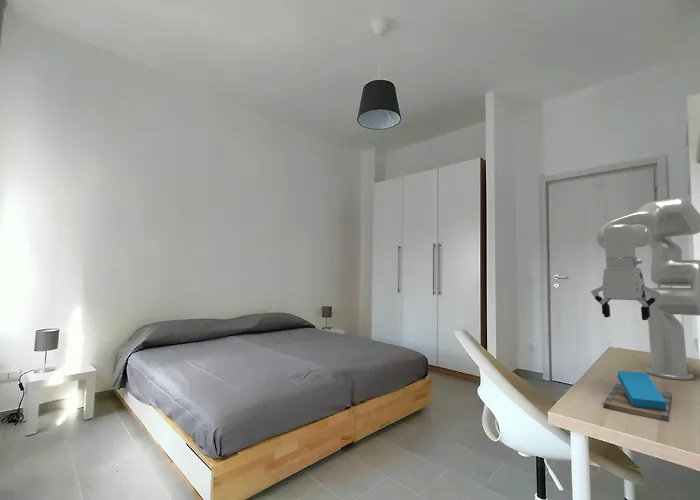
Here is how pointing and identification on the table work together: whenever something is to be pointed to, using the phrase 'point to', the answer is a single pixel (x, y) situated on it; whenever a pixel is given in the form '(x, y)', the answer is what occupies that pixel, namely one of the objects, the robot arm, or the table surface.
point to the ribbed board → (621, 403)
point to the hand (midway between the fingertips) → (625, 318)
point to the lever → (641, 390)
